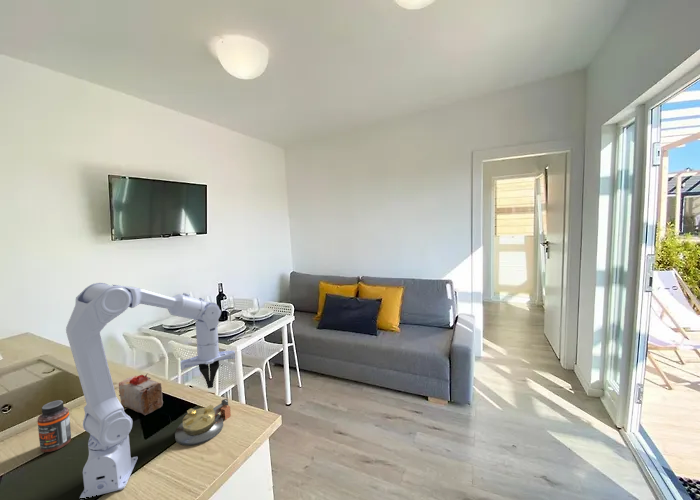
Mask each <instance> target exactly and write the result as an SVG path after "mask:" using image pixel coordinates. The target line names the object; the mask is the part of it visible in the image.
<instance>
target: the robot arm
mask: <svg viewBox="0 0 700 500" xmlns="http://www.w3.org/2000/svg"><path fill="white" fill-rule="evenodd" d="M138 305H146V306H152V307H156V308H160V309H162V308H163V309H167V310H168V313H169V314H170V315H171V316H174V317H179V318H184V319H189V320H194V322H195V335H196V351H197V355H196V356H193V357H190V358H186V359H182V360H180V361H179V363H180V364H179V366H180V371H182V370H185V369H186V368H191V367H197V366H198V370H199V371H200V373H201V375H202V376H203V378H204V380H205V382H206V383H205V384H206V386H207V389H212V388H214V381H215V377H216V375H217V372H218V370H219V368H220V361H225V360H233V359H234V360H235V359H236V352H235V350H223V351H220V349H219V347H220V346H219V330H218V329H219V328H218V326H219V319H220V317H221V315H222V310H221V309H220V306H219V305H218V304H217V303H216V302H211V301H207V300H205V298H202V297H199V298H196V297H192V296H191V294H189V293H187V292H186V293H185V292H183V293H178V294H175V295H174V296H168V295H165V294H162V293H159V292H154V291H151V290H147V289H144V288H140V287H135V286H130V285H129V286H128V285H119V284H112V285H110V284H107V283H105V282H96V283H92V284H90V285H88V286H87V287H85V288H84V289H83V290H82V291H81V292H80V293H79V294H78V295H77V296H76V297H75V305H74V307H73V310H72V312H71V315H70V318H69V319H68V322H67V325H66V328H65V333H66V336H67V341H68V343H69V347H70V350H71V354H72V357H73V361H74V364H75V368H76V372H77V375H78V378H79V383H80V386H81V389H82V392H83V393H82V394H83V397H84V400H85V403H86V404H85V406H84V407H83V410H84V417H83V420H82V428H83V430H84V431H85V432H86V433H89V439H88V442H87V447H88V457H87V460H86V462H85V464H84V466H83V469H82V479H83V487H84V488H83V491H82V492H81V494H80V496H79V499H80V498H85V499H87V498H86V497H89V498H92V496H93V497H96V495H97V496H100V495H104V494H108V493H113V492H117V491H120V490H123V489H125V487H126V485H127V483H128V481H129V479H130V477H131V475H132V472H133V470H134V468H135V466H136V463H137V461H138V456H133V457H131V455H132V454H131V445H130V435H129V434H130V433H131V430H132V428H133V418H131V416H130V415H128V414H127V413H126V412H125V407H124V406H122V405H121V401H120V400H119V398H118V396H117V394H116V393H117V392H116V389H115V386H114V383H113V378H112V374H111V372H110V371H111V370H110V368H109V364H108V363H109V362H108V360H107V355H106V352H105V348H104V345H103V341H102V336H101V331H102V330H103V329H104V327H106V326H107V324H108V323H110V322H111V321H113V320H114V319H115V318H117V317H119V316H120V315H121V314H123V313H125V311H126V310H128V309H129V308H131V309H133V308H136V307H137V306H138Z"/></svg>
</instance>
